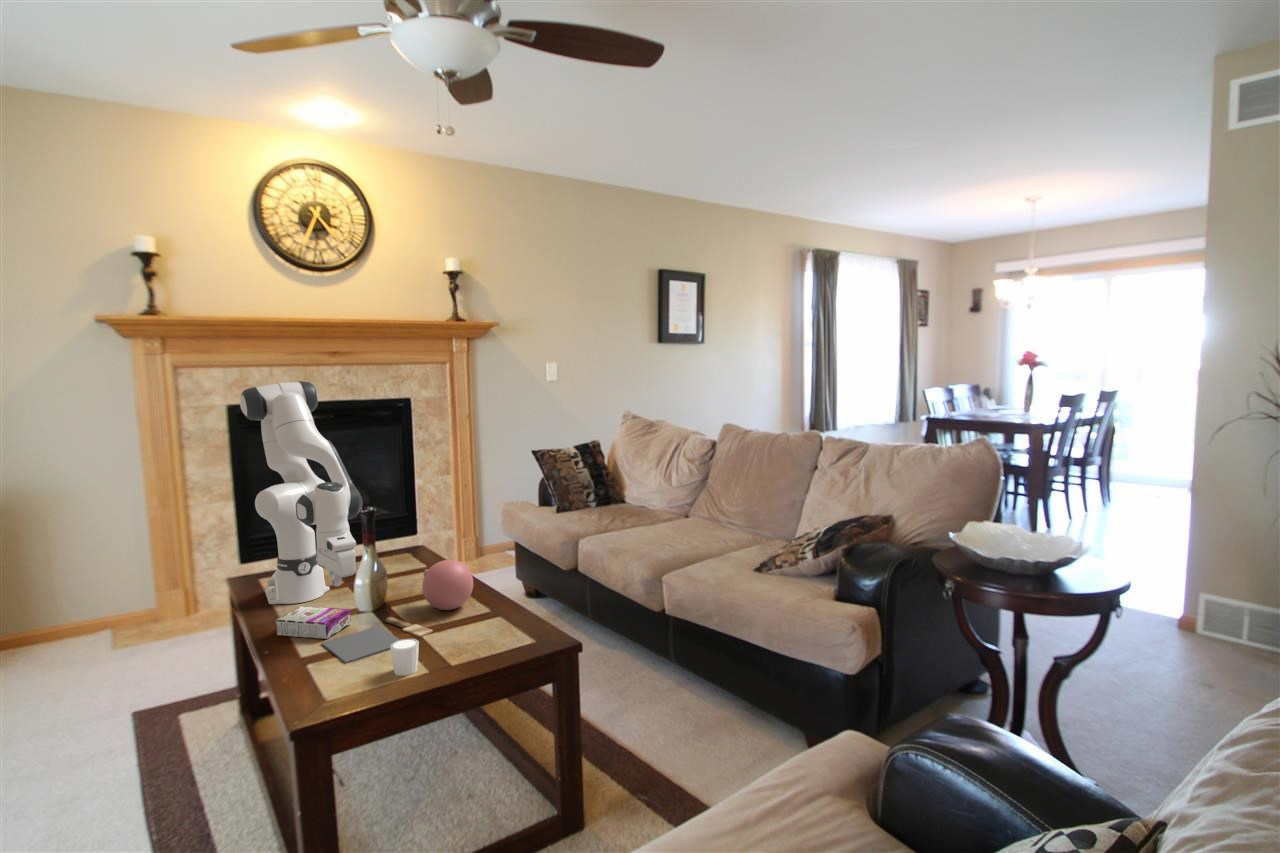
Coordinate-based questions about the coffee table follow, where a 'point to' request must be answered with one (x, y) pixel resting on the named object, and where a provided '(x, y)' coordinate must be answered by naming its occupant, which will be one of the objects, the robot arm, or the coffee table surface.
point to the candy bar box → (313, 622)
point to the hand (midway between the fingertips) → (336, 585)
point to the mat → (361, 644)
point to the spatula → (410, 627)
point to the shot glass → (405, 656)
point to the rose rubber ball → (447, 584)
